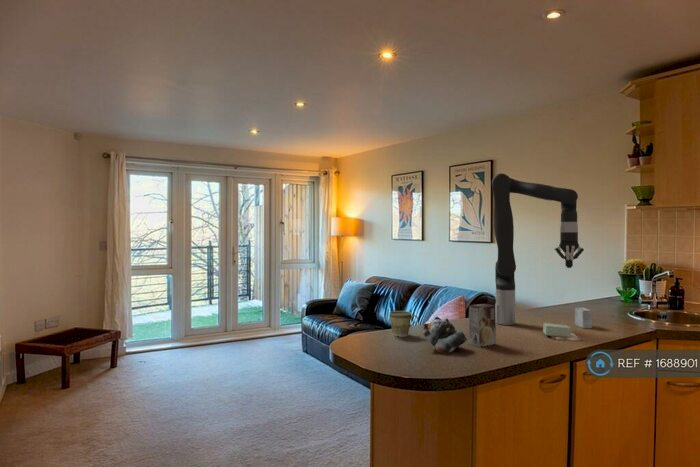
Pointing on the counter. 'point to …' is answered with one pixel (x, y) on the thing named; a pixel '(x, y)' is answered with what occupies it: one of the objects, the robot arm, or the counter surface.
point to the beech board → (573, 337)
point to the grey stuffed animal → (443, 335)
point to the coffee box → (482, 325)
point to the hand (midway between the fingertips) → (569, 267)
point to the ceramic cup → (401, 322)
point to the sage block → (557, 330)
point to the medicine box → (583, 317)
